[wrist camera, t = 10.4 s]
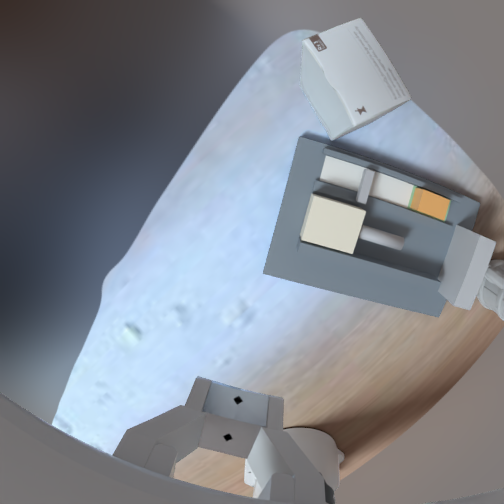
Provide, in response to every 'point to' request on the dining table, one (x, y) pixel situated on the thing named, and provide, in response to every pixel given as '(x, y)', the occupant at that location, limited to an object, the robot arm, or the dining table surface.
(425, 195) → the orange rectangular block
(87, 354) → the dining table surface
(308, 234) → the cream block with rods
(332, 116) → the skincare box
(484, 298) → the mug
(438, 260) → the base
